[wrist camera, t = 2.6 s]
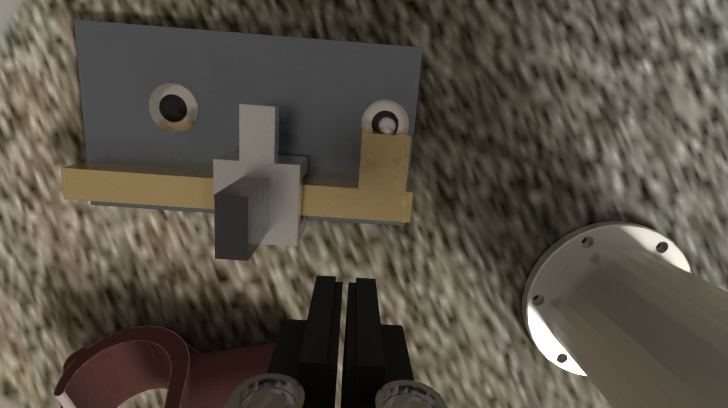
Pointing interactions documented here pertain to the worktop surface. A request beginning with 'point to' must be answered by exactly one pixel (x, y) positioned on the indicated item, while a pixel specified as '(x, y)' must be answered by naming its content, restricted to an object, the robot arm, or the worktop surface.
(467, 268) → the worktop surface
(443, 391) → the worktop surface
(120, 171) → the beam
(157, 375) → the bracket
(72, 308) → the worktop surface
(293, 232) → the slider
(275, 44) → the hole plate
